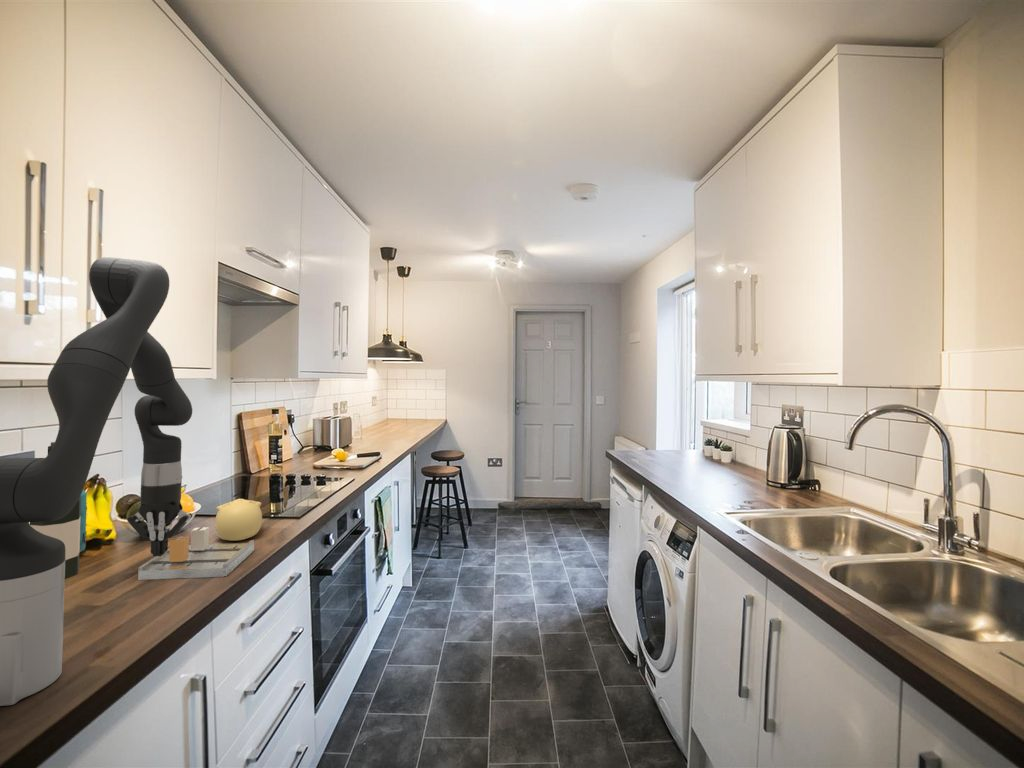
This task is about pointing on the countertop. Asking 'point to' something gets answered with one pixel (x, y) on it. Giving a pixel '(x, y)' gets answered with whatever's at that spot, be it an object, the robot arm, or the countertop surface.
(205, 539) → the fader
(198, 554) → the grey slider board
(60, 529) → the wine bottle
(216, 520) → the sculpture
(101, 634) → the countertop surface
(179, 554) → the block
